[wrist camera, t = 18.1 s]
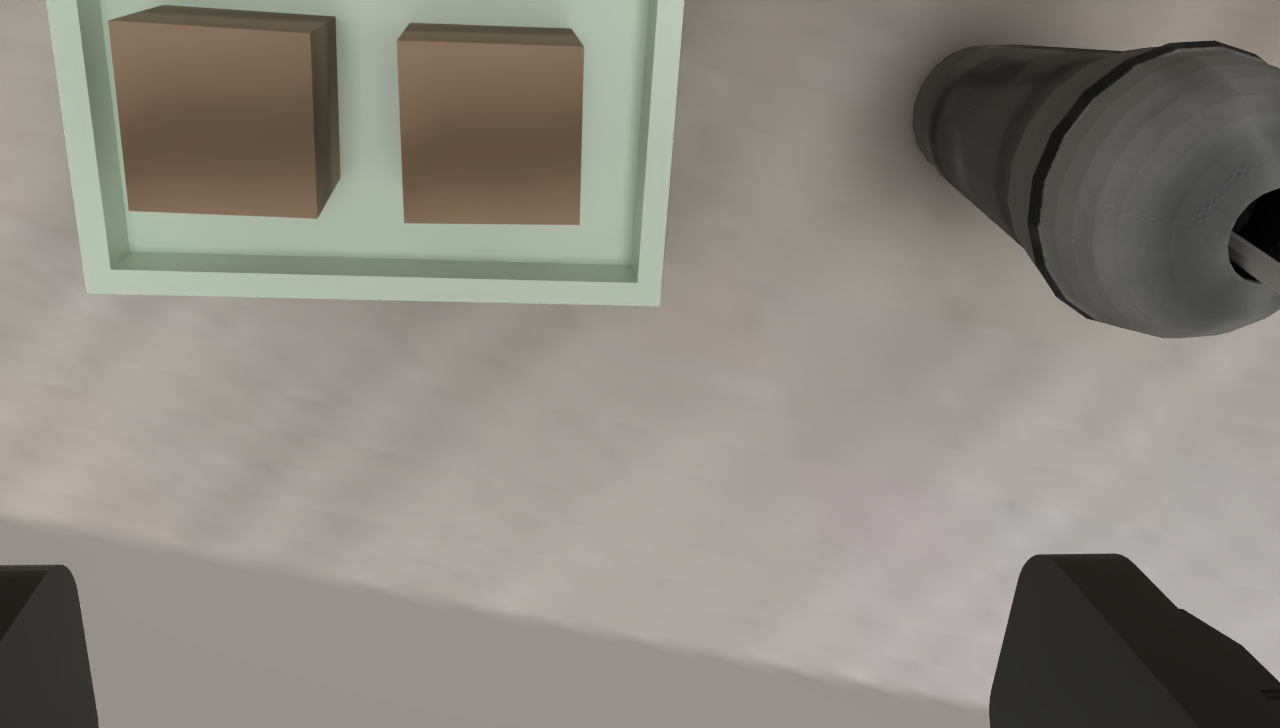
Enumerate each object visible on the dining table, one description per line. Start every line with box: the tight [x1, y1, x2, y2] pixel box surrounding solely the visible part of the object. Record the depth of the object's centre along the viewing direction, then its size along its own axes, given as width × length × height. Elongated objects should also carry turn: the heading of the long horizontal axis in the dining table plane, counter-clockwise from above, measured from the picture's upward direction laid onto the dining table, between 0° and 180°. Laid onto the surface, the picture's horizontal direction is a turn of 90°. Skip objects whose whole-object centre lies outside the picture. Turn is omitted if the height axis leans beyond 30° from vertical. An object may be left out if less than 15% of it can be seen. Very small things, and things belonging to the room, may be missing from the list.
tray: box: [46, 0, 684, 306], centre depth 33 cm, size 12×18×2 cm, turn 86°
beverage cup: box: [913, 41, 1280, 338], centre depth 28 cm, size 7×7×20 cm
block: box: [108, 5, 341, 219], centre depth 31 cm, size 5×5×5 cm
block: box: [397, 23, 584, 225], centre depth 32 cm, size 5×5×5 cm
